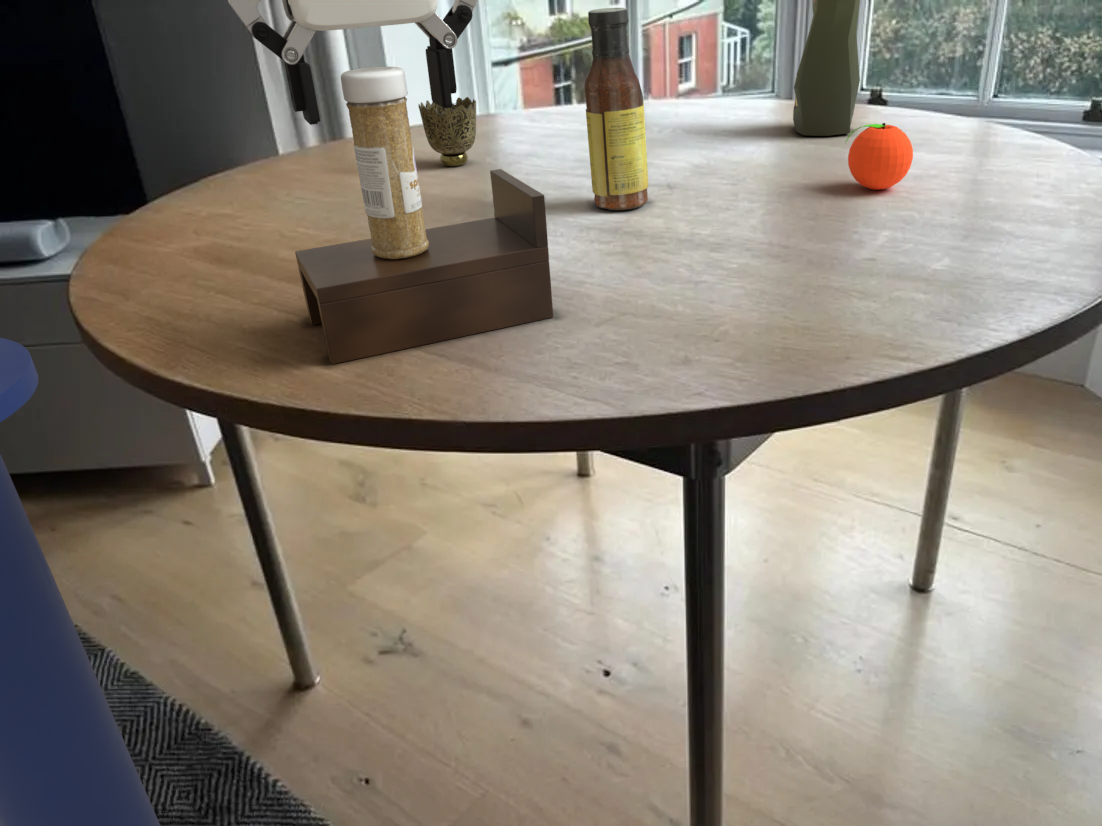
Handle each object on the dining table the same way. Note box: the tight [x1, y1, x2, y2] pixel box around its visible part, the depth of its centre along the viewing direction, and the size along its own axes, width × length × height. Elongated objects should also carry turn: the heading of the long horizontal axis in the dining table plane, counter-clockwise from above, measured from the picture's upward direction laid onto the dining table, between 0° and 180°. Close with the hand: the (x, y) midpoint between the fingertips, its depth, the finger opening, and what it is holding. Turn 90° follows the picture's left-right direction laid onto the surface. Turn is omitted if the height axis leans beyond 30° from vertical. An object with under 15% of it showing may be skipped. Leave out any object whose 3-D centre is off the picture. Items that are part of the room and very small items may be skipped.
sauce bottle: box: [584, 7, 649, 211], centre depth 99 cm, size 7×6×20 cm
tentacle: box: [792, 0, 861, 137], centre depth 123 cm, size 9×12×30 cm
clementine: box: [844, 122, 914, 191], centre depth 103 cm, size 8×7×7 cm
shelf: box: [294, 168, 554, 365], centre depth 74 cm, size 18×10×10 cm, turn 115°
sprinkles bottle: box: [340, 66, 429, 259], centre depth 70 cm, size 5×5×13 cm
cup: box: [418, 96, 477, 167], centre depth 122 cm, size 8×7×8 cm
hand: (378, 113), depth 68 cm, fingers open, 9 cm apart
